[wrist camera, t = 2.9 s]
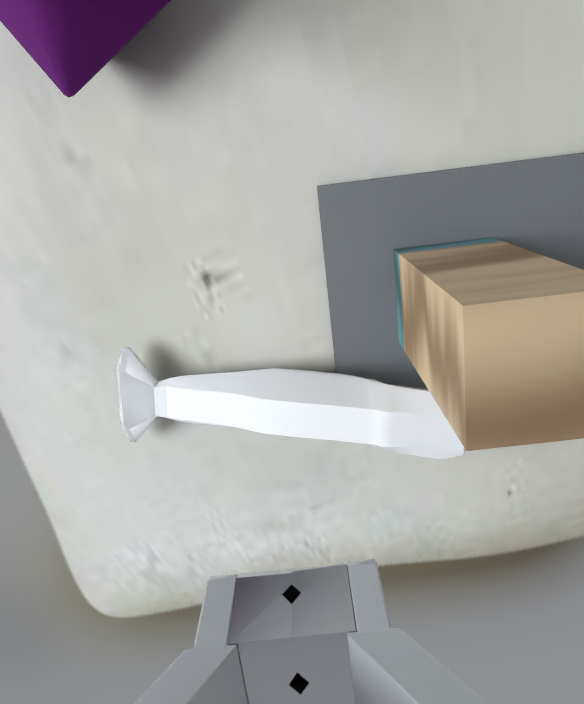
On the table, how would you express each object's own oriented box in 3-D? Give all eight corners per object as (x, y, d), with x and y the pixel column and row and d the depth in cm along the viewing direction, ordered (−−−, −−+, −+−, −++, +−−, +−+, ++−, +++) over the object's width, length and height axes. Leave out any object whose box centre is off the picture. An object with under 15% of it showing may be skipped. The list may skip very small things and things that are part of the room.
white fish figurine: (449, 446, 31) (463, 485, 27) (137, 424, 33) (110, 458, 29) (462, 354, 29) (478, 382, 26) (131, 335, 31) (101, 359, 27)
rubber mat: (316, 186, 28) (317, 186, 27) (768, 129, 27) (775, 129, 27) (339, 405, 32) (340, 408, 31) (735, 361, 31) (740, 363, 30)
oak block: (392, 249, 28) (462, 306, 17) (491, 237, 28) (629, 286, 17) (398, 342, 30) (466, 450, 19) (492, 331, 30) (618, 434, 18)
